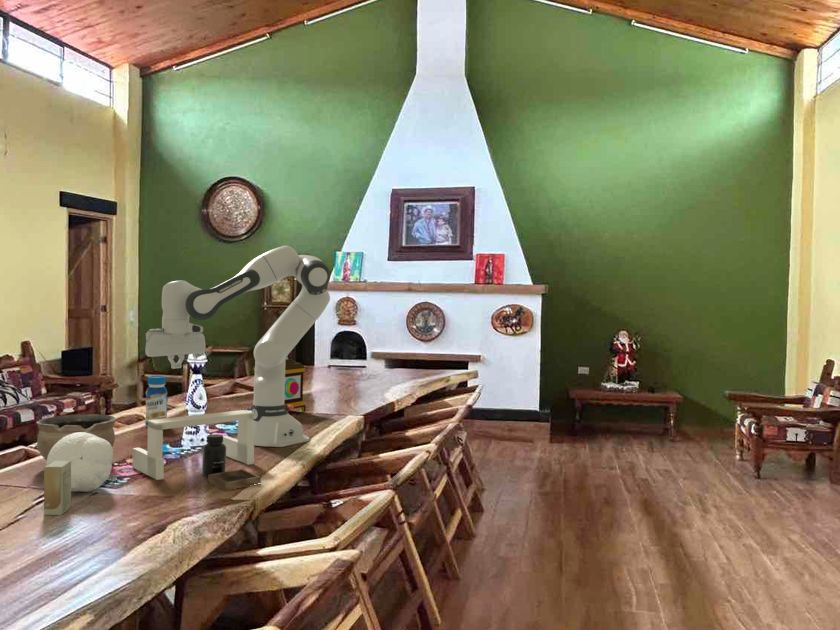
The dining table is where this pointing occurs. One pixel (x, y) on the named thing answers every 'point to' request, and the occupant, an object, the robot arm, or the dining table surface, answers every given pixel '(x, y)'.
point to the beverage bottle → (156, 398)
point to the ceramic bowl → (73, 429)
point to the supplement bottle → (214, 455)
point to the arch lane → (235, 449)
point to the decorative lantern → (293, 384)
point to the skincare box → (57, 487)
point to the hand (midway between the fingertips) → (176, 368)
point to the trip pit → (233, 479)
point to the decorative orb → (84, 459)
